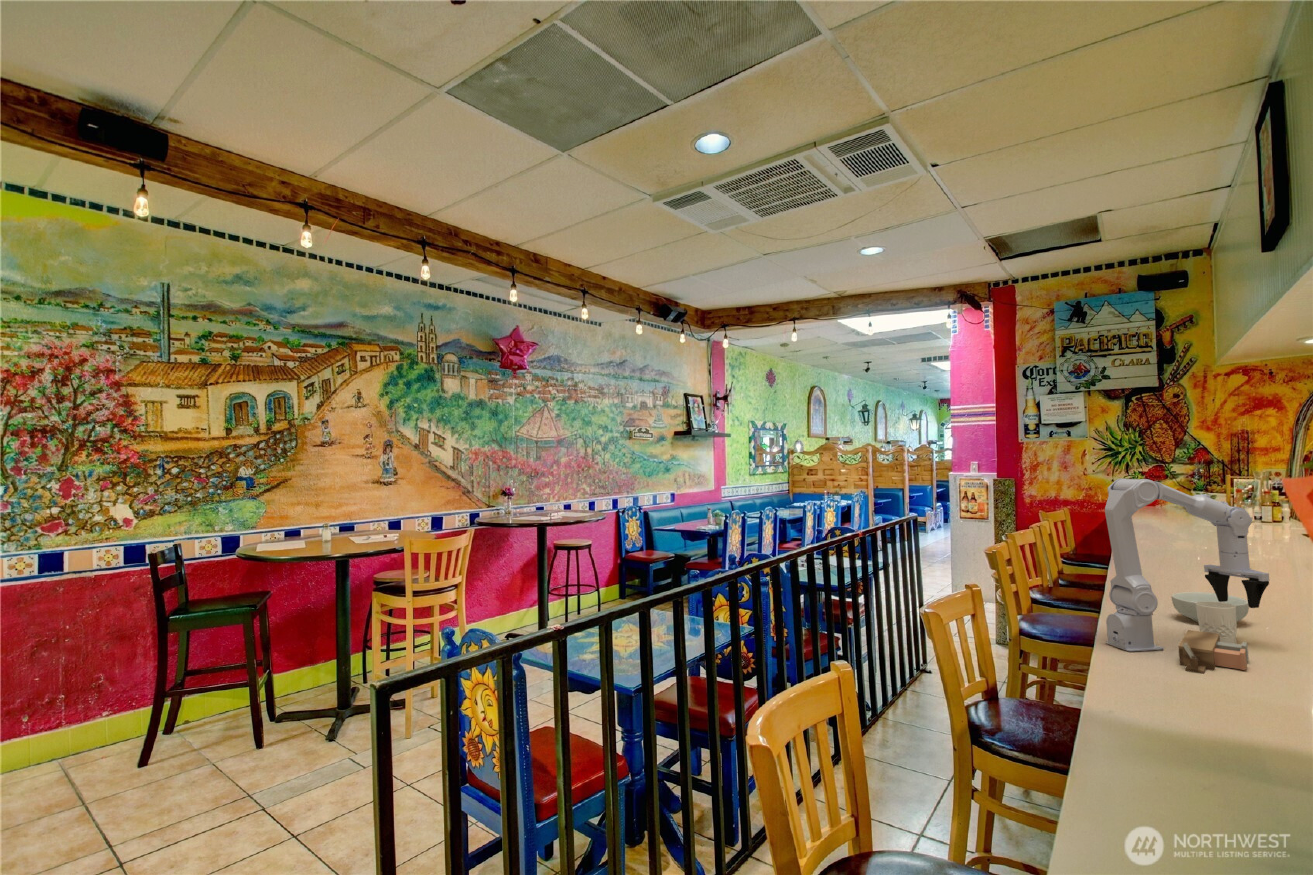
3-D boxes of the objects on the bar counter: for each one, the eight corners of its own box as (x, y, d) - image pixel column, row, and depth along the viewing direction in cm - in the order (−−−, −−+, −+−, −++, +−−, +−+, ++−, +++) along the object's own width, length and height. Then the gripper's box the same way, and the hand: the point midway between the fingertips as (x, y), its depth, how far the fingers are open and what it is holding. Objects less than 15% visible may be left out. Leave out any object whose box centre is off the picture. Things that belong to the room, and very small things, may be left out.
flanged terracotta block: (1247, 665, 142) (1245, 649, 143) (1245, 670, 140) (1244, 653, 140) (1208, 660, 147) (1207, 644, 148) (1206, 664, 144) (1205, 648, 145)
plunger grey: (1248, 658, 147) (1247, 642, 148) (1247, 662, 144) (1245, 646, 145) (1211, 653, 152) (1209, 637, 152) (1209, 657, 149) (1208, 641, 149)
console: (1221, 651, 154) (1219, 633, 154) (1212, 674, 139) (1210, 654, 139) (1189, 647, 158) (1188, 629, 158) (1177, 669, 143) (1176, 649, 143)
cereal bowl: (1161, 620, 184) (1159, 596, 185) (1191, 612, 191) (1188, 589, 192) (1233, 632, 169) (1230, 606, 169) (1262, 623, 176) (1260, 598, 176)
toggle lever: (1199, 660, 143) (1187, 641, 144) (1198, 663, 141) (1186, 644, 142) (1194, 661, 143) (1182, 643, 145) (1193, 664, 142) (1181, 645, 143)
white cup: (1247, 647, 156) (1243, 608, 156) (1211, 647, 157) (1208, 608, 158) (1225, 639, 164) (1222, 601, 164) (1191, 638, 165) (1188, 601, 166)
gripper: (1277, 554, 154) (1282, 609, 153) (1218, 547, 168) (1222, 597, 168) (1253, 556, 153) (1258, 611, 152) (1195, 549, 167) (1200, 599, 167)
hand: (1238, 604), depth 160 cm, fingers open, 7 cm apart
